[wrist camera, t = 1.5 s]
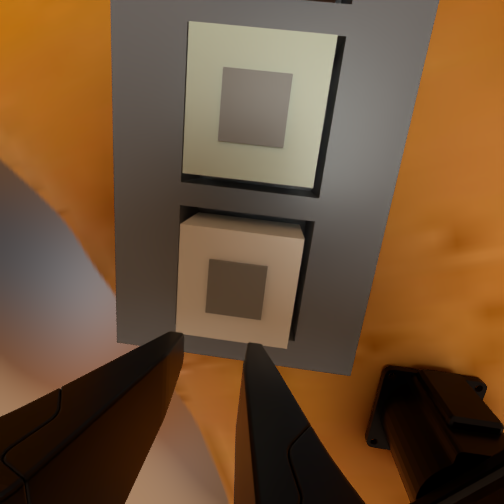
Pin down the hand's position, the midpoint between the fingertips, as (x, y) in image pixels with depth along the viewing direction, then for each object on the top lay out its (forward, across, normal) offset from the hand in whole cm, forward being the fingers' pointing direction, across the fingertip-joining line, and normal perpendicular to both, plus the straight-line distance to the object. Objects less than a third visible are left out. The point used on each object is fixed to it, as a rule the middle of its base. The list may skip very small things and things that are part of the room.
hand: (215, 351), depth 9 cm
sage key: (+8, 0, -7) cm, 10 cm away
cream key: (+7, 0, 0) cm, 7 cm away
